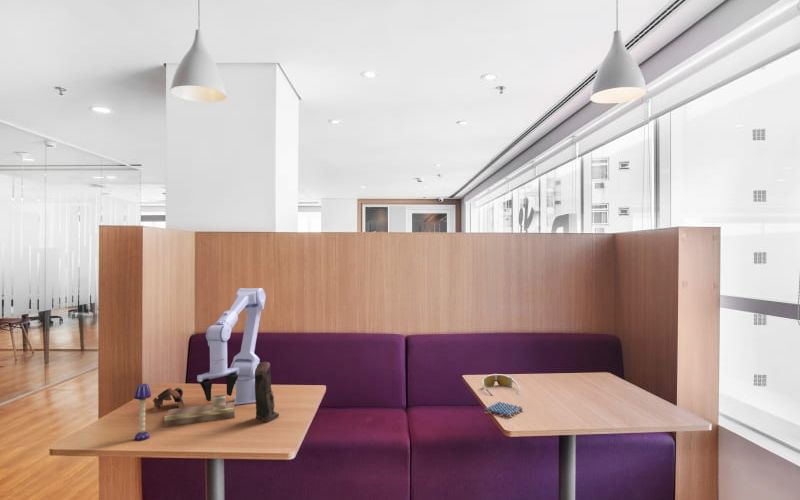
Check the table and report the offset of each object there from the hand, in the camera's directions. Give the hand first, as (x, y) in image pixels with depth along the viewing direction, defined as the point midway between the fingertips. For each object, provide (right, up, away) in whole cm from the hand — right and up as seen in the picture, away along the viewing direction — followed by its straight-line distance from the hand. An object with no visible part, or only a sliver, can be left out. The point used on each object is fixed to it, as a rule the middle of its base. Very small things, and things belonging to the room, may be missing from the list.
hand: (219, 397), depth 162 cm
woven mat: (+100, -6, 0) cm, 101 cm away
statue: (+17, -7, -4) cm, 19 cm away
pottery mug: (-23, -8, +11) cm, 26 cm away
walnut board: (-6, -7, +1) cm, 9 cm away
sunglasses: (+105, -6, +25) cm, 108 cm away
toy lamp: (-17, -7, -18) cm, 26 cm away
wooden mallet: (-1, -5, +3) cm, 6 cm away
